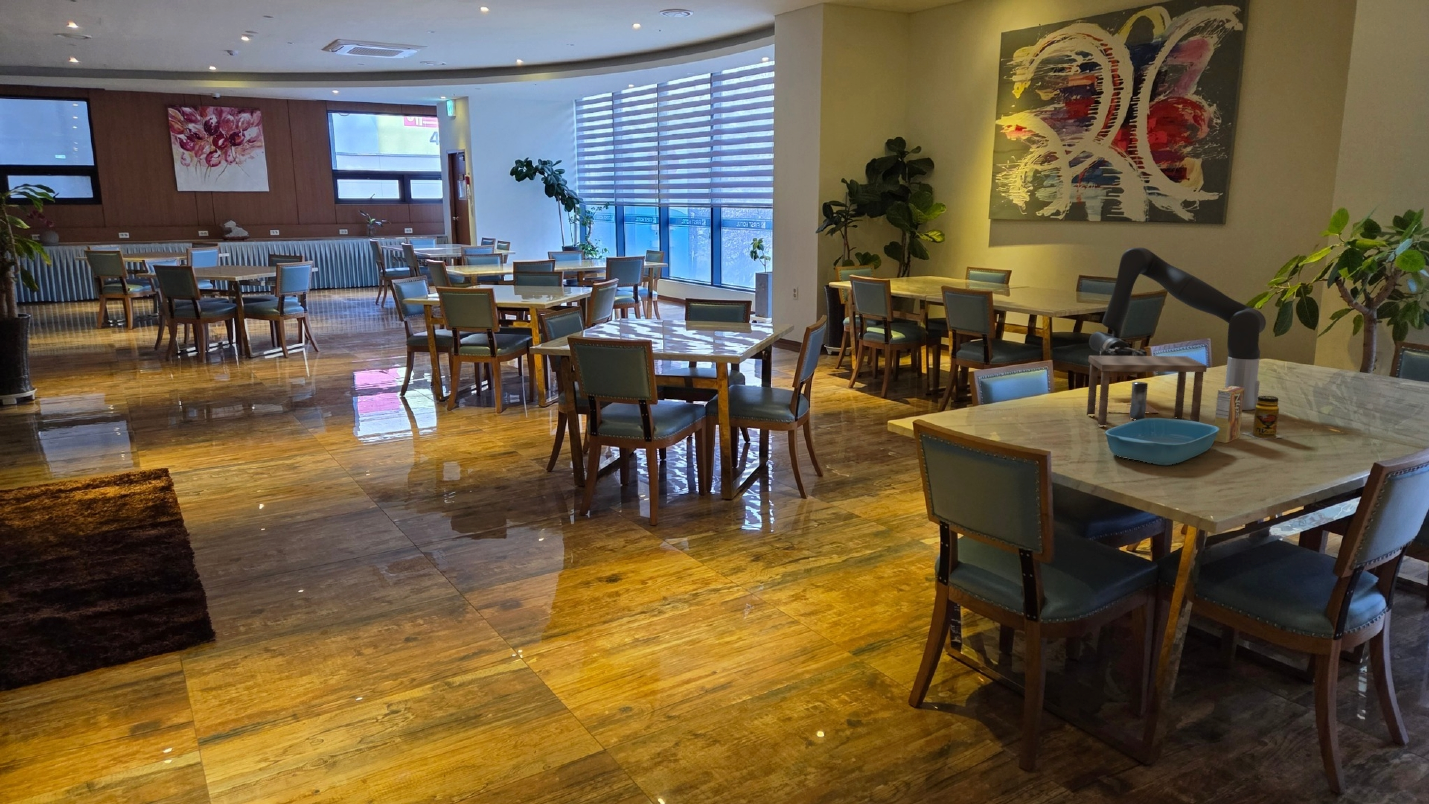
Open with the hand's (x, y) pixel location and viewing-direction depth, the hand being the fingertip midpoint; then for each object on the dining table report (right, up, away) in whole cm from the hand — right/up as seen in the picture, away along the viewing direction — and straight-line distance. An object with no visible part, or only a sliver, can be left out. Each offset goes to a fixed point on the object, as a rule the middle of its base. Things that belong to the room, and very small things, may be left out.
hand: (1128, 357), depth 307 cm
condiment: (+25, -25, -33) cm, 49 cm away
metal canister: (-2, -21, -10) cm, 23 cm away
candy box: (+12, -26, -37) cm, 47 cm away
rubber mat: (+1, -17, +6) cm, 18 cm away
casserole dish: (-14, -30, -50) cm, 60 cm away
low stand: (-2, -21, -14) cm, 26 cm away
